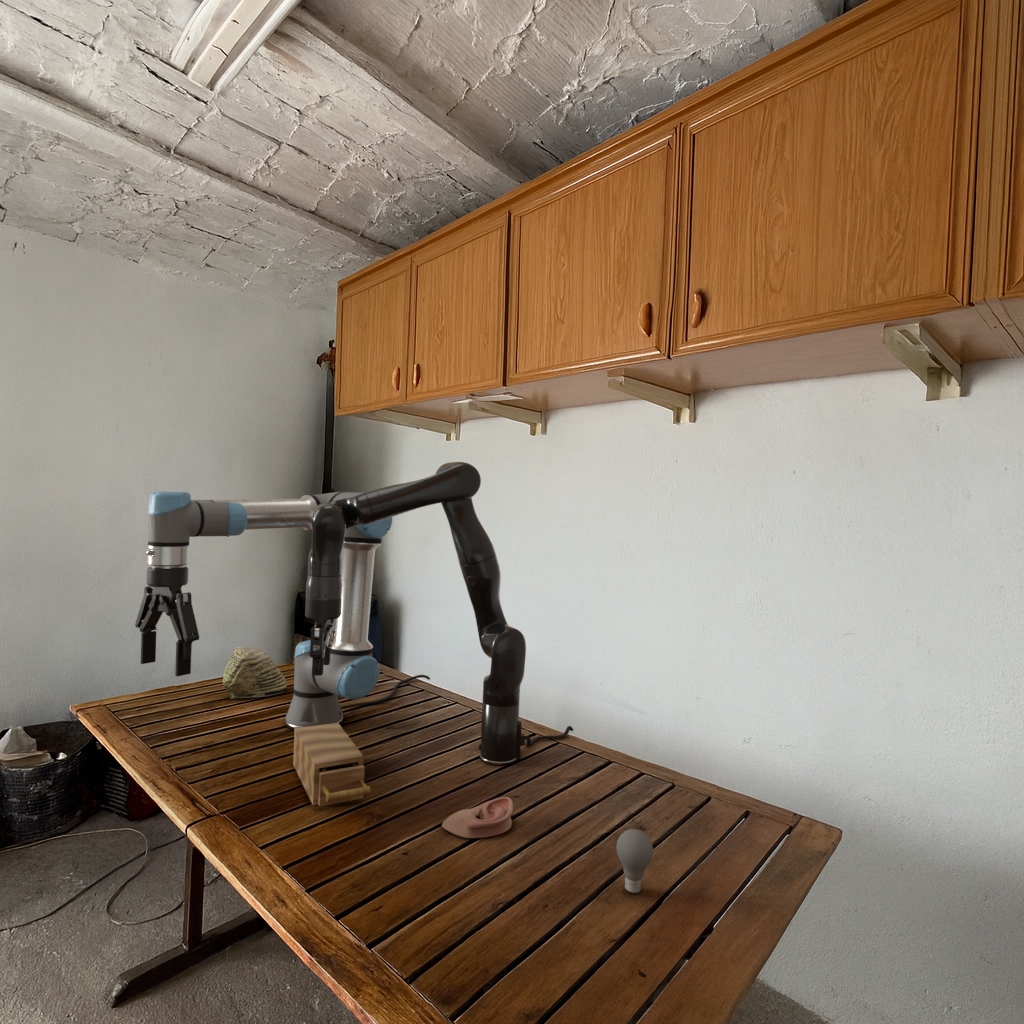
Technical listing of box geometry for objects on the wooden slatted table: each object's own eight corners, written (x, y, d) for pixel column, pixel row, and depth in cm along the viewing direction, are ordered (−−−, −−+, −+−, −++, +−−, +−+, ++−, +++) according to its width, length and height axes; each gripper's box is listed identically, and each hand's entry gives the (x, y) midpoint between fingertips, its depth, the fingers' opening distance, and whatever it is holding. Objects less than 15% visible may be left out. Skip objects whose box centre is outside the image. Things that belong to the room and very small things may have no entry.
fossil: (218, 695, 195) (220, 647, 195) (278, 685, 208) (279, 640, 207) (228, 703, 189) (230, 653, 188) (289, 692, 201) (290, 645, 201)
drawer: (371, 809, 127) (372, 777, 127) (325, 819, 123) (326, 785, 123) (338, 760, 150) (340, 733, 149) (299, 767, 145) (300, 739, 145)
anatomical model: (437, 813, 121) (454, 787, 132) (436, 833, 121) (454, 805, 132) (505, 823, 118) (517, 795, 129) (504, 844, 118) (516, 815, 129)
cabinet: (361, 796, 135) (363, 756, 135) (312, 805, 130) (314, 764, 130) (336, 757, 154) (338, 722, 154) (293, 764, 149) (294, 728, 149)
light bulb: (610, 879, 108) (613, 822, 108) (644, 879, 109) (647, 822, 109) (619, 902, 102) (622, 840, 102) (655, 901, 103) (658, 840, 103)
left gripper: (118, 561, 134) (116, 661, 135) (183, 573, 120) (179, 684, 121) (155, 559, 140) (152, 654, 141) (220, 570, 127) (216, 676, 127)
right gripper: (336, 601, 131) (333, 679, 131) (346, 591, 145) (343, 661, 145) (299, 600, 130) (296, 679, 130) (312, 590, 144) (309, 661, 144)
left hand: (165, 668), depth 131 cm, fingers open, 13 cm apart
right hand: (321, 669), depth 138 cm, fingers open, 8 cm apart
